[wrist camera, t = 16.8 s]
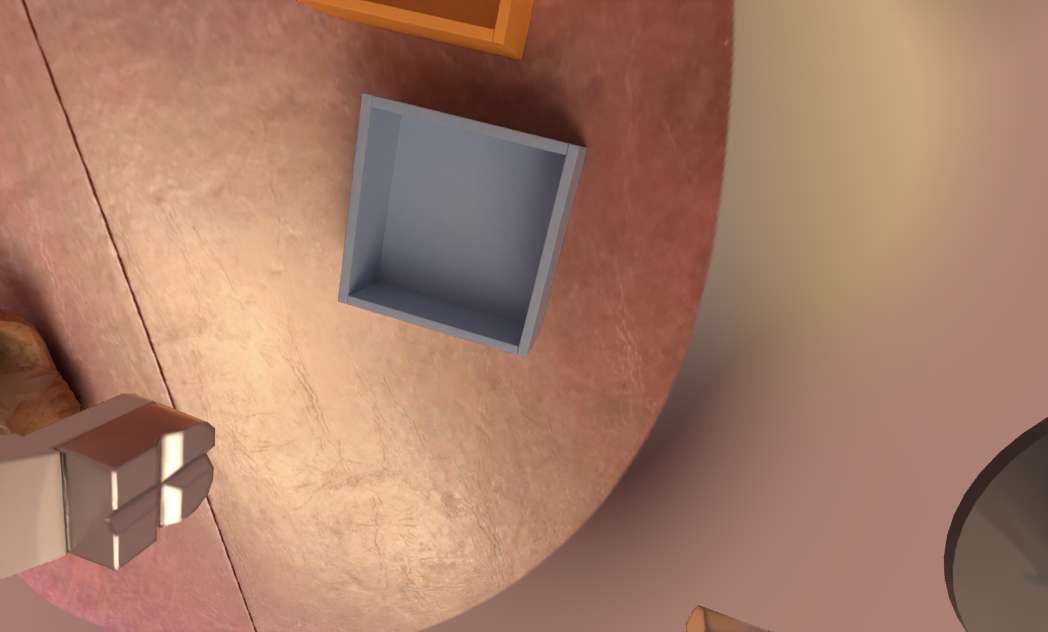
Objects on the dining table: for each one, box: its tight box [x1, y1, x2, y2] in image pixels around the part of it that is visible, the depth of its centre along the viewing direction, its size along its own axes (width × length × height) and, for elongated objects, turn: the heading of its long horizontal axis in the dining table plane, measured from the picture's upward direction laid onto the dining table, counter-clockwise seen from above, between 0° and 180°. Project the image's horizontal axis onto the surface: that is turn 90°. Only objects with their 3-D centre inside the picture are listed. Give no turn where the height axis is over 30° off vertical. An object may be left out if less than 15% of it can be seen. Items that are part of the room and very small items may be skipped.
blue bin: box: [338, 93, 587, 357], centre depth 32 cm, size 12×12×5 cm
